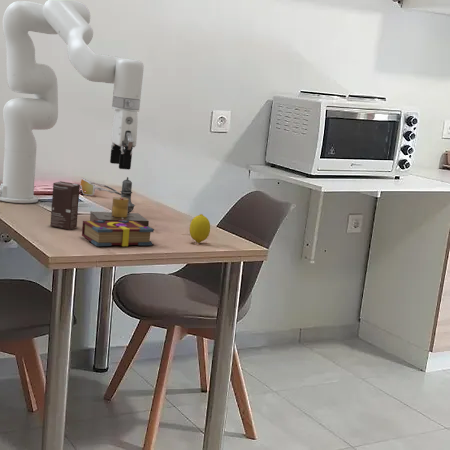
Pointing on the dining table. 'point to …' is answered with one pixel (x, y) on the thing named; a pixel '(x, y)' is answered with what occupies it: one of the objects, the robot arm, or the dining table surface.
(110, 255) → the dining table surface
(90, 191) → the sunglasses
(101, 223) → the decorative book
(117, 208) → the lock knob
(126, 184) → the grey textured elongated piece
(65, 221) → the box
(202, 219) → the lemon
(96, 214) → the lock plate
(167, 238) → the dining table surface
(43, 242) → the dining table surface
